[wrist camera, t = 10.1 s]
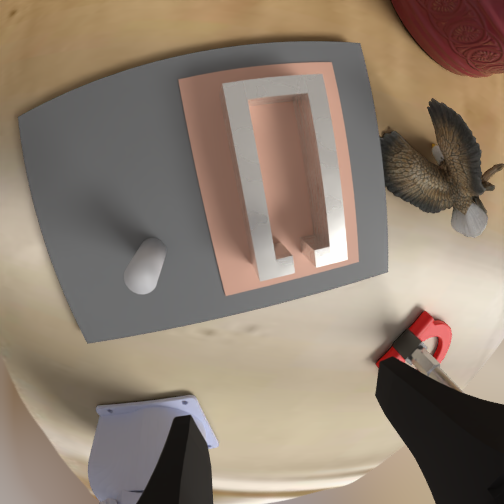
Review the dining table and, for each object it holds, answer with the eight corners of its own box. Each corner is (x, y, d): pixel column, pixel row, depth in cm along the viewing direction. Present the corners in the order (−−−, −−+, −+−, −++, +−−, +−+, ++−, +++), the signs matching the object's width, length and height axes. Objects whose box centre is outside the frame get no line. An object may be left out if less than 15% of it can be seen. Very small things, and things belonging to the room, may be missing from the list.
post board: (91, 335, 19) (70, 380, 14) (25, 118, 13) (-20, 112, 8) (381, 267, 21) (421, 295, 16) (353, 47, 15) (394, 24, 10)
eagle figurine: (475, 133, 17) (416, 75, 14) (527, 194, 13) (490, 138, 9) (423, 192, 23) (354, 158, 19) (462, 257, 18) (399, 236, 15)
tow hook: (453, 336, 26) (427, 299, 23) (525, 404, 14) (527, 382, 11) (402, 391, 27) (365, 367, 24) (462, 469, 16) (440, 472, 12)
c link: (252, 264, 18) (260, 281, 15) (219, 94, 14) (222, 83, 12) (329, 246, 18) (347, 259, 16) (305, 84, 15) (322, 73, 12)
